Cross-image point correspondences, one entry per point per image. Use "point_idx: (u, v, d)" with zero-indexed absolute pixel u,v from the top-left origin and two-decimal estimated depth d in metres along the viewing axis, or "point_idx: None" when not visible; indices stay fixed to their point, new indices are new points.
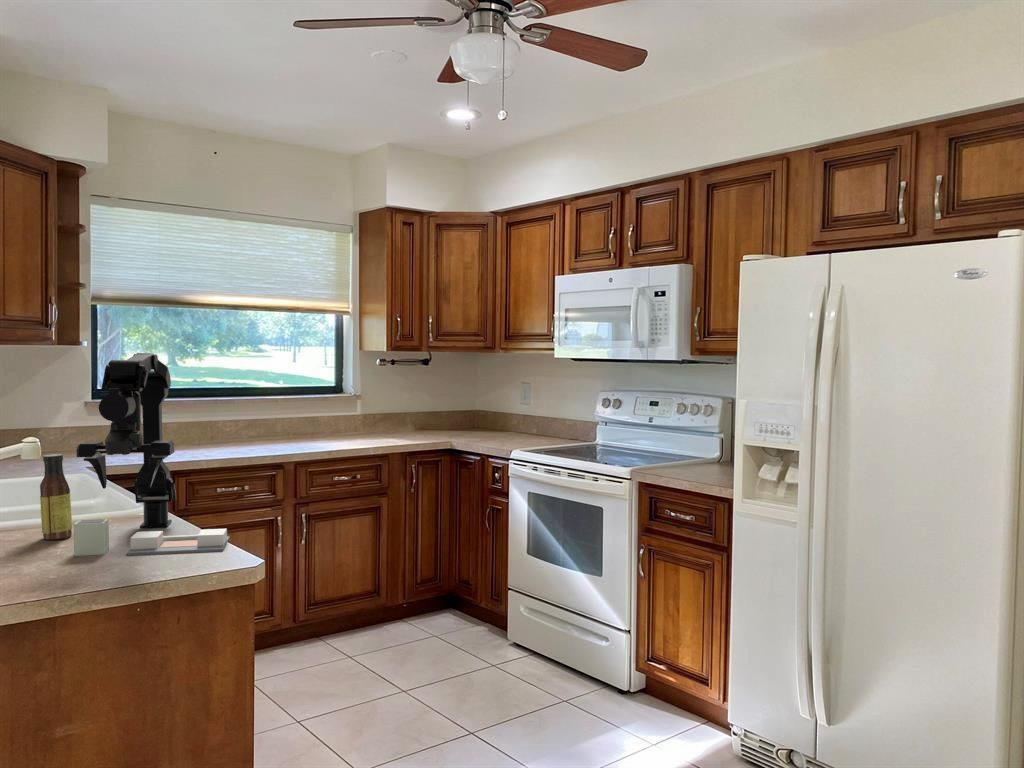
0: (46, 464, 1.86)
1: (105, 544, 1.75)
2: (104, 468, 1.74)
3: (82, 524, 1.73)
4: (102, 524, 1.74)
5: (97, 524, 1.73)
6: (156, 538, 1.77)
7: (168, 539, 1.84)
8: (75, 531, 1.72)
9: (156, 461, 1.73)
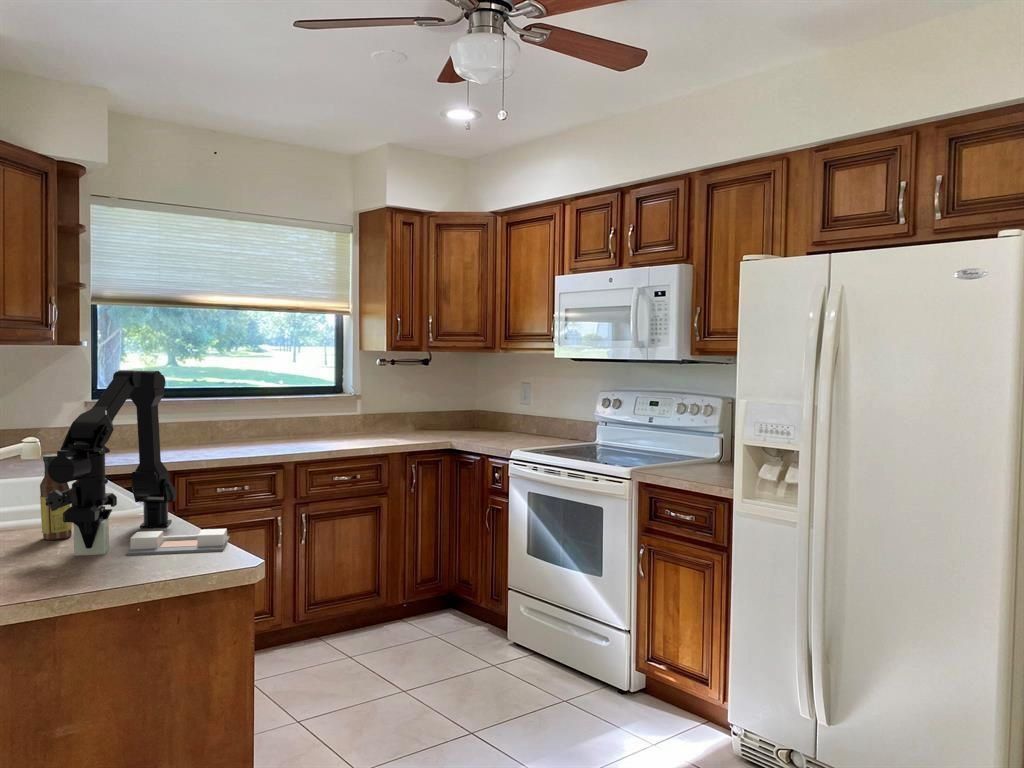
0: (46, 464, 1.86)
1: (105, 544, 1.75)
2: None
3: None
4: (102, 524, 1.74)
5: None
6: (156, 538, 1.77)
7: (168, 539, 1.84)
8: (75, 531, 1.72)
9: None
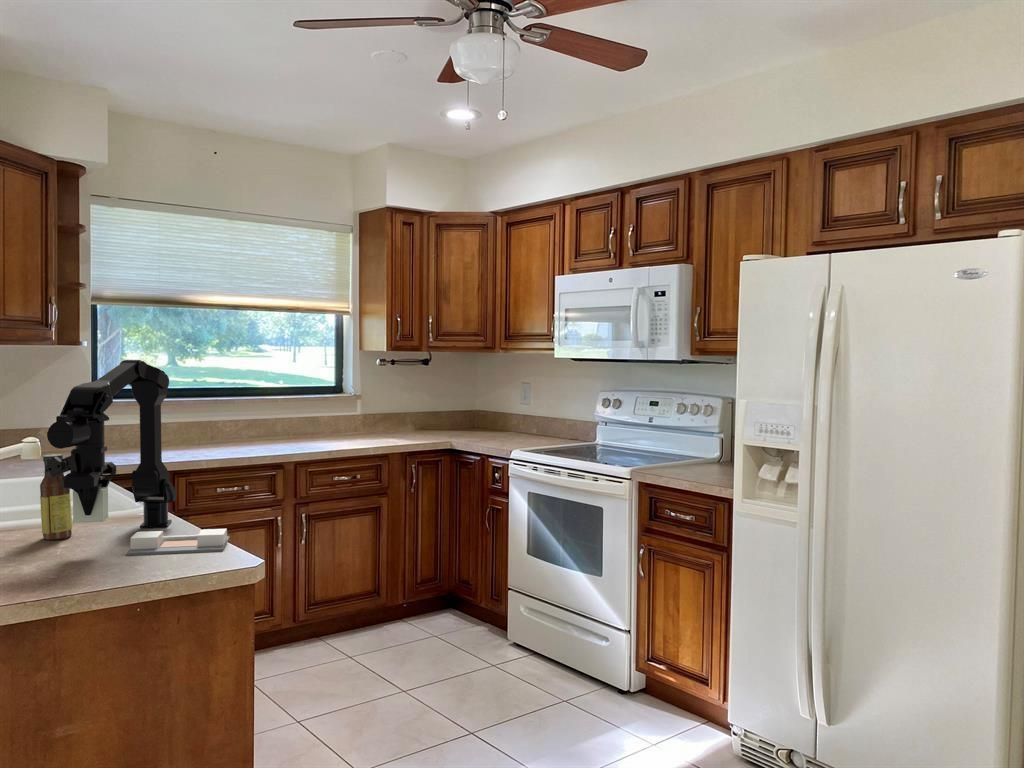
0: None
1: (104, 511, 1.75)
2: None
3: None
4: (101, 491, 1.73)
5: None
6: (156, 538, 1.77)
7: (168, 539, 1.84)
8: (74, 498, 1.72)
9: None
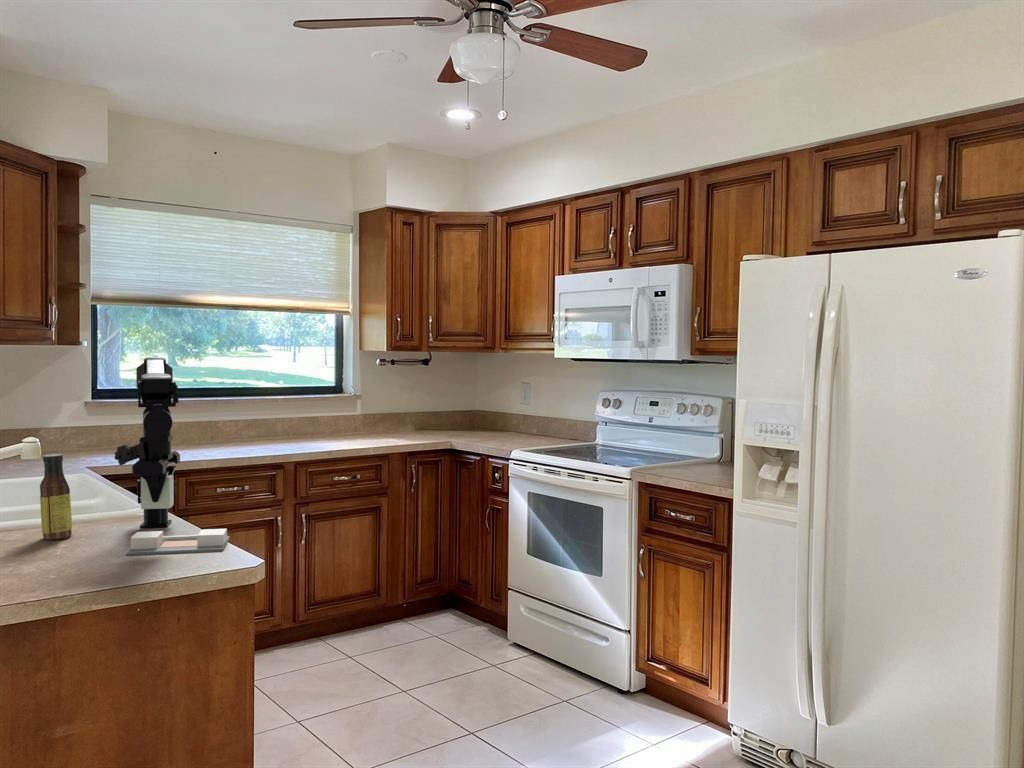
0: (46, 464, 1.86)
1: (171, 498, 1.79)
2: None
3: None
4: (168, 478, 1.77)
5: None
6: (156, 538, 1.77)
7: (168, 539, 1.84)
8: (142, 485, 1.76)
9: None
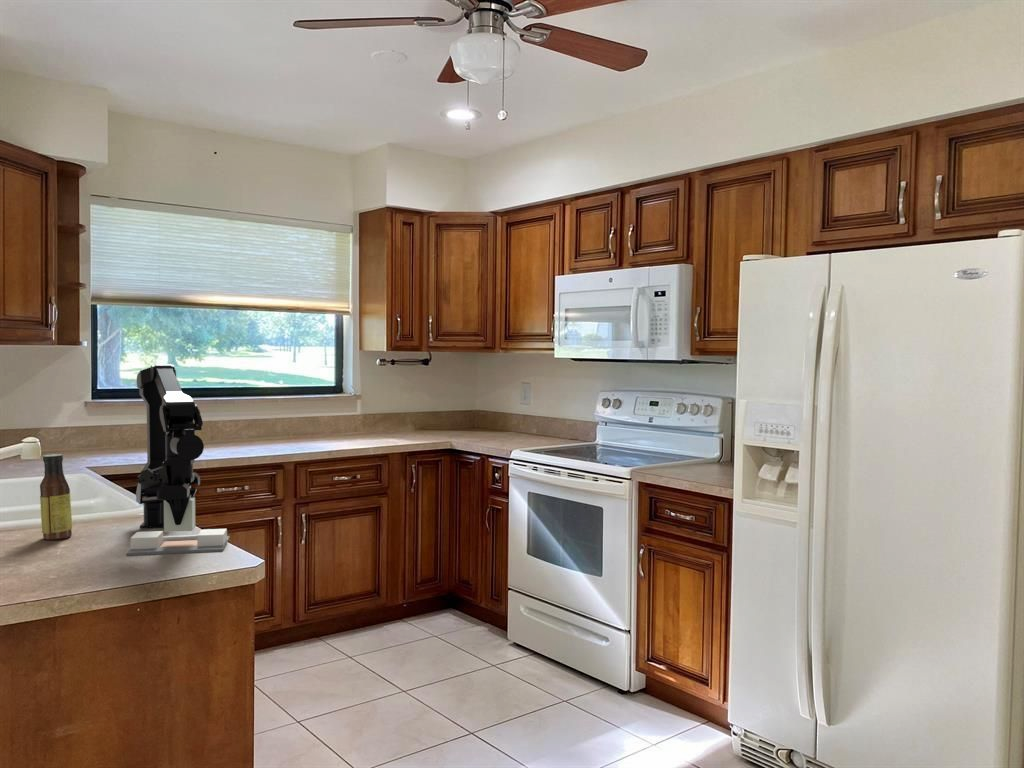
0: (46, 464, 1.86)
1: (193, 521, 1.81)
2: None
3: None
4: (191, 501, 1.79)
5: None
6: (156, 538, 1.77)
7: (168, 539, 1.84)
8: (165, 508, 1.78)
9: None
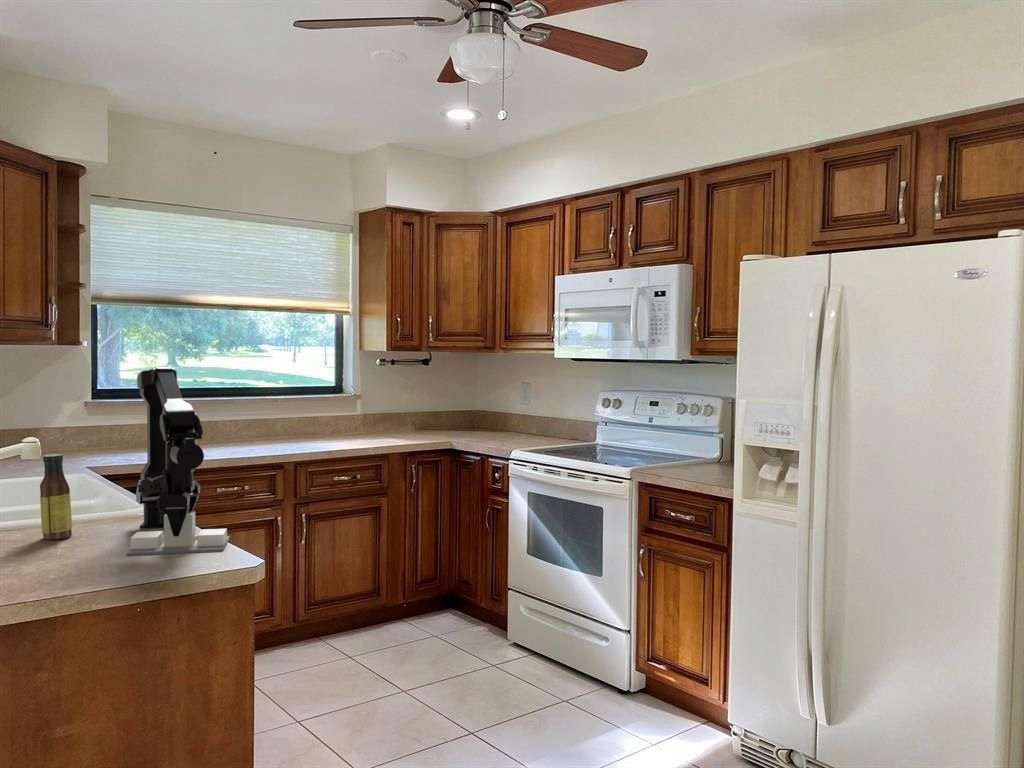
0: (46, 464, 1.86)
1: (193, 535, 1.81)
2: None
3: None
4: (191, 516, 1.79)
5: (186, 516, 1.79)
6: (156, 538, 1.77)
7: None
8: (165, 522, 1.78)
9: None
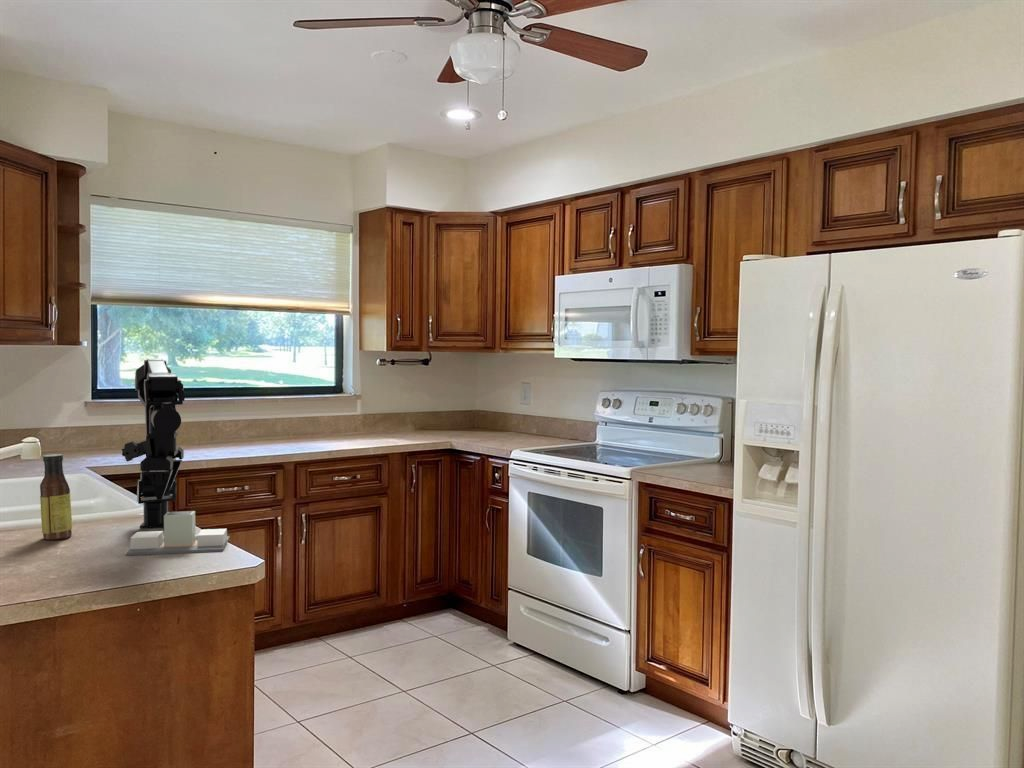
0: (46, 464, 1.86)
1: (193, 535, 1.81)
2: (170, 473, 1.89)
3: (172, 516, 1.79)
4: (191, 516, 1.79)
5: (186, 516, 1.79)
6: (156, 538, 1.77)
7: None
8: (165, 522, 1.78)
9: None
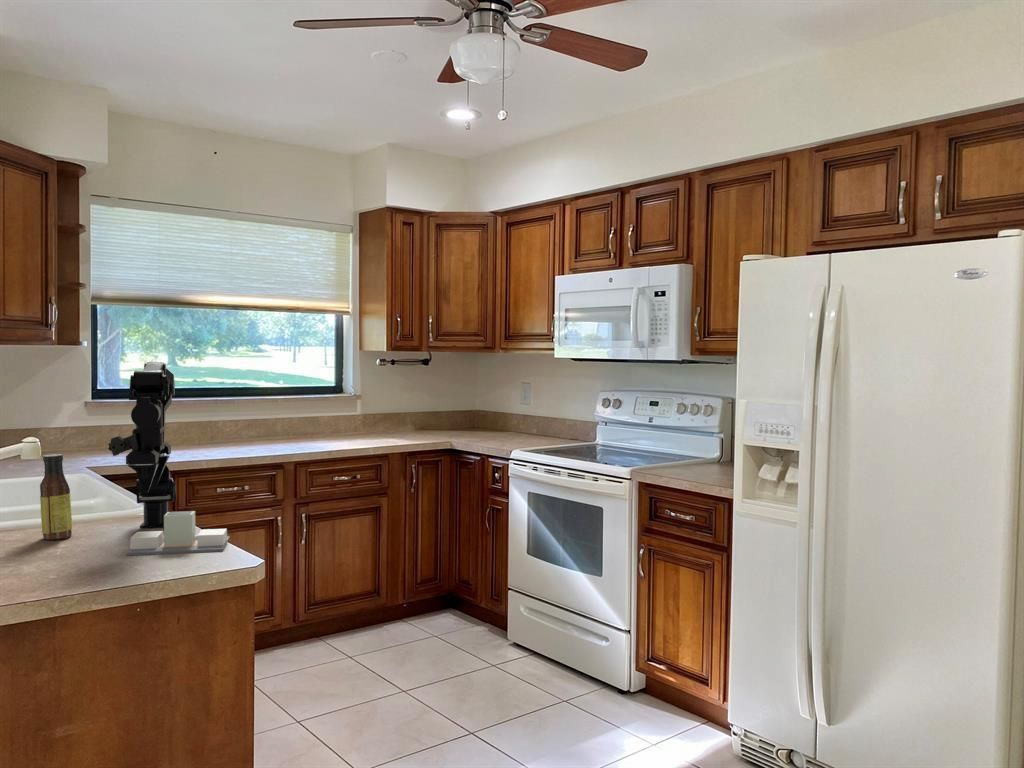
0: (46, 464, 1.86)
1: (193, 535, 1.81)
2: (157, 468, 1.91)
3: (172, 516, 1.79)
4: (191, 516, 1.79)
5: (186, 516, 1.79)
6: (156, 538, 1.77)
7: None
8: (165, 522, 1.78)
9: None
